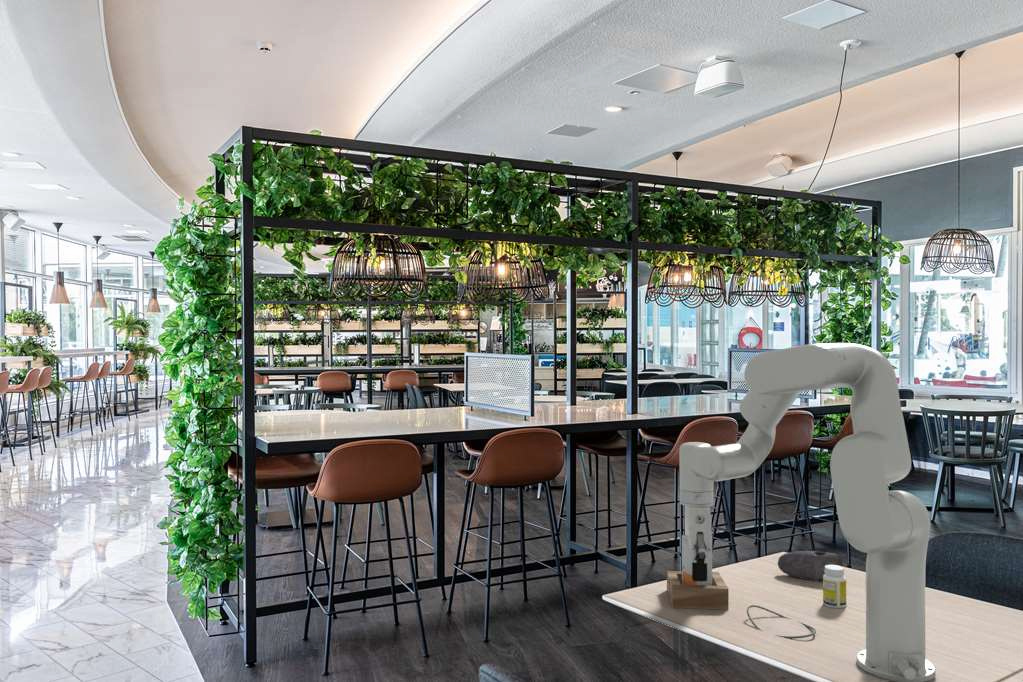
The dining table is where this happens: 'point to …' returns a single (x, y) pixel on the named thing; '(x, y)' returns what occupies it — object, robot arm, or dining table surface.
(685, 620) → the dining table surface
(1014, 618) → the dining table surface
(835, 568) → the supplement bottle
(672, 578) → the holder
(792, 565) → the perforated stone tool
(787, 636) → the loop
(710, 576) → the skincare box
